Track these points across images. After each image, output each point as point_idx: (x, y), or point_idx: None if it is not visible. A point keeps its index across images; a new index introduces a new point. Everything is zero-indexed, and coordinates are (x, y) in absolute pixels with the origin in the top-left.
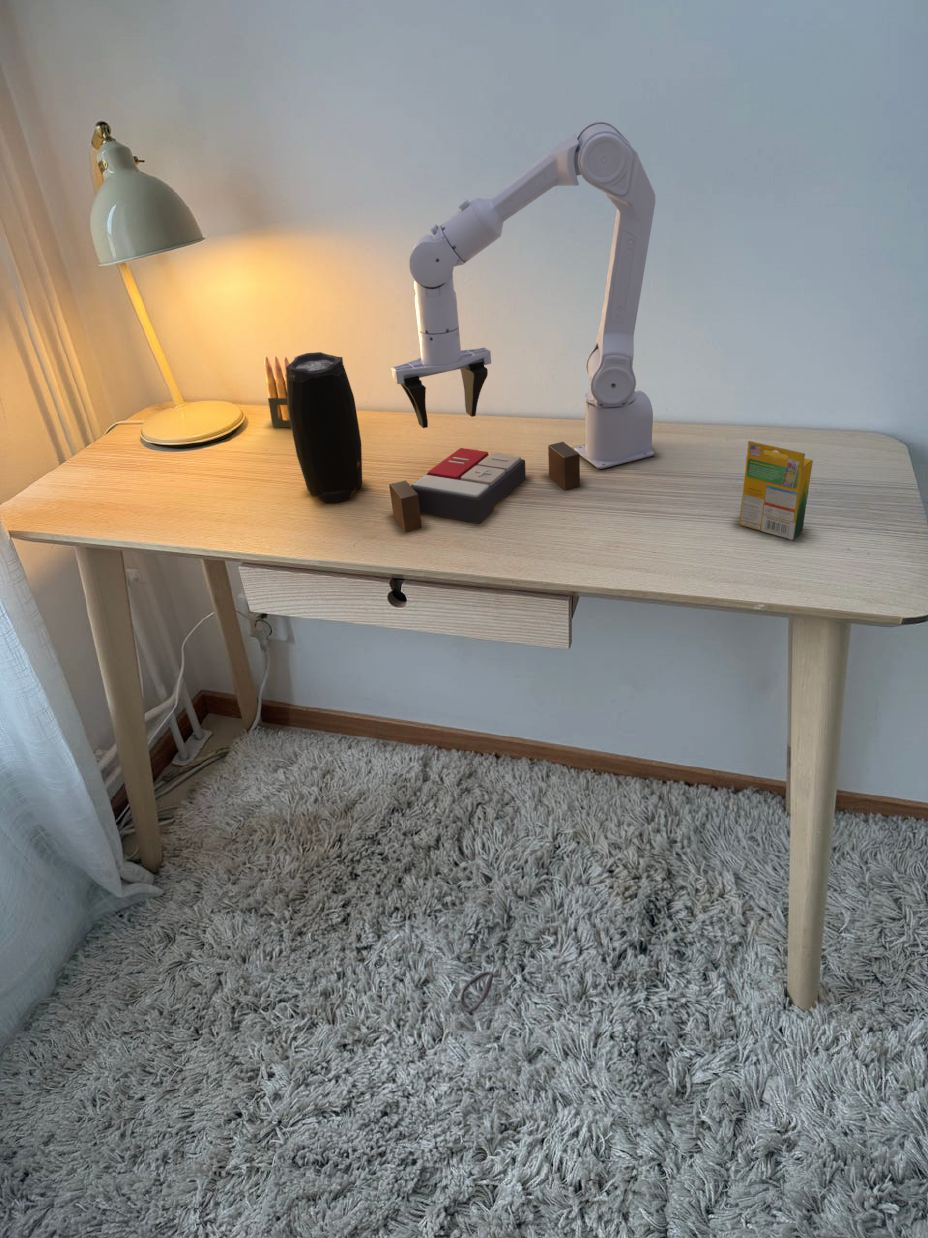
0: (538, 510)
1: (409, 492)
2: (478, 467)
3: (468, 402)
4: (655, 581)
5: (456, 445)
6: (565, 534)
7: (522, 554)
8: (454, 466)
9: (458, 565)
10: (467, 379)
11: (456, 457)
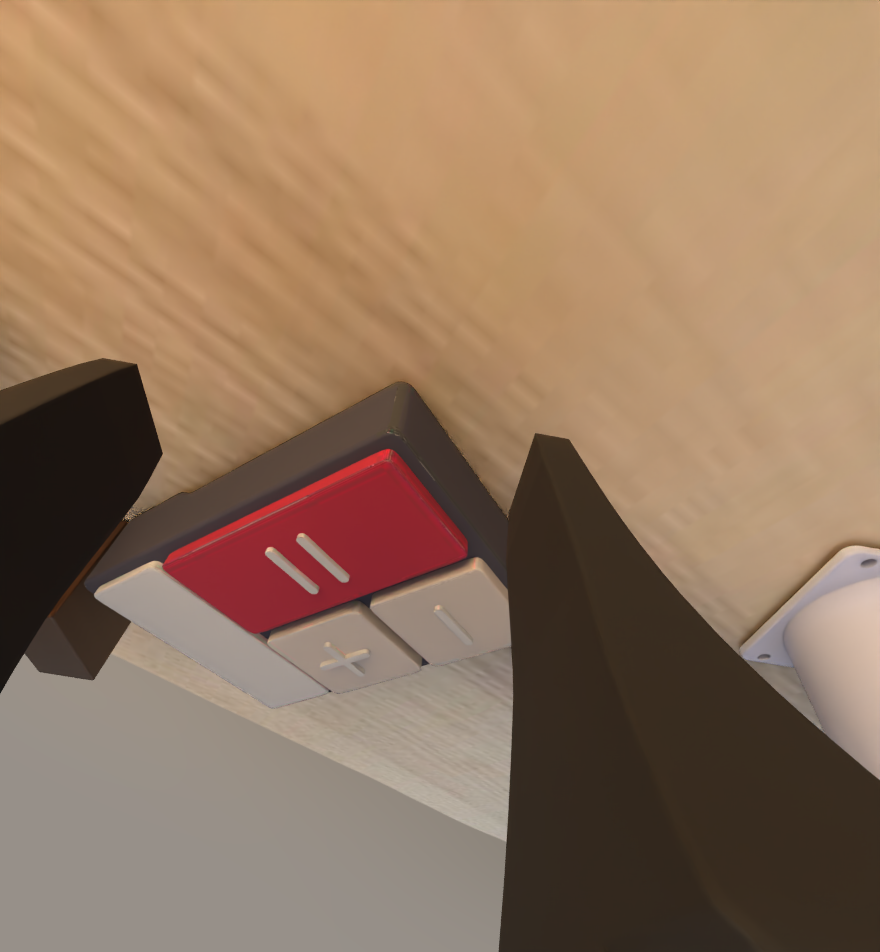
0: (447, 668)
1: (65, 665)
2: (354, 626)
3: (526, 555)
4: (451, 806)
5: (565, 66)
6: (430, 726)
7: (325, 720)
8: (275, 585)
9: (203, 691)
10: (550, 805)
11: (311, 544)
